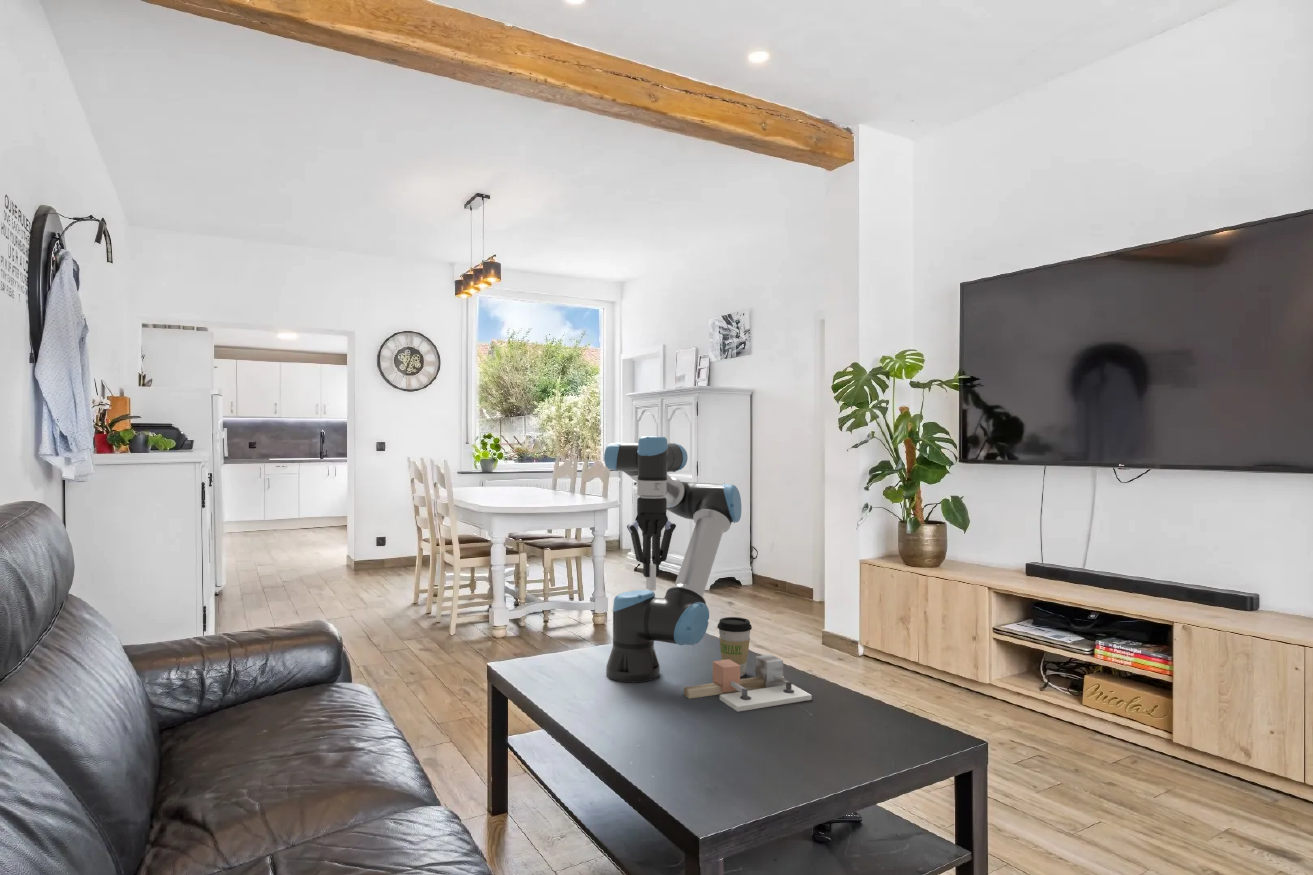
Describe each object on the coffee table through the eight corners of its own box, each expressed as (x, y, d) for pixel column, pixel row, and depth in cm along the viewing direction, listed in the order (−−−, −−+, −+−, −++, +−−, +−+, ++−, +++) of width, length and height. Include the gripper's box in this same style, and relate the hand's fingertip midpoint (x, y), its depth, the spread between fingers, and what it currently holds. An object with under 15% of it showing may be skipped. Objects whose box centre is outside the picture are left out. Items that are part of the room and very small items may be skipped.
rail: (681, 692, 196) (681, 665, 196) (775, 679, 208) (775, 653, 208) (704, 710, 184) (705, 681, 184) (802, 694, 196) (803, 667, 196)
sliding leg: (712, 685, 200) (712, 661, 200) (728, 683, 202) (729, 659, 202) (737, 701, 188) (737, 676, 188) (754, 699, 190) (754, 673, 190)
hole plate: (719, 699, 192) (719, 694, 192) (791, 688, 201) (791, 683, 201) (737, 711, 184) (737, 706, 184) (811, 699, 193) (811, 694, 193)
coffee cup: (710, 670, 215) (711, 618, 215) (739, 666, 220) (740, 615, 219) (727, 680, 207) (728, 626, 206) (758, 676, 211) (758, 623, 211)
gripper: (633, 498, 184) (632, 594, 184) (681, 497, 189) (680, 590, 189) (622, 496, 191) (621, 588, 191) (669, 495, 196) (667, 584, 196)
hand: (650, 589), depth 190 cm, fingers closed
